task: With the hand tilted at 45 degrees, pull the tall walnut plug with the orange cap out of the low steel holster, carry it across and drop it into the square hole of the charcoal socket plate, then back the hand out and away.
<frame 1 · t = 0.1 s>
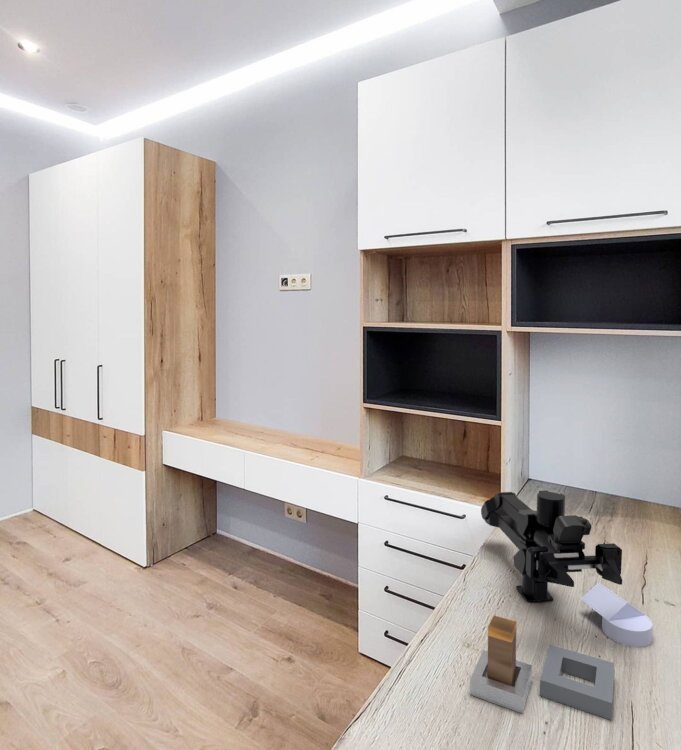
hand: (597, 583, 92), 17 cm above the table, tool horizontal, fingers open, 9 cm apart
wedge on round base: (619, 628, 105), on the table
socket: (577, 686, 88), on the table
holster: (501, 687, 88), on the table
plug: (501, 656, 88), in the holster
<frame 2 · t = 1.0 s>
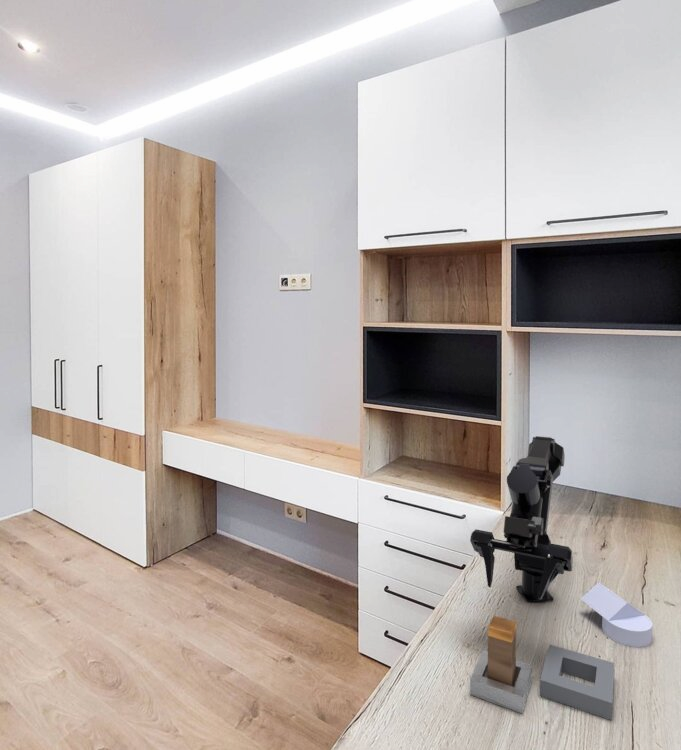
hand: (513, 592, 94), 14 cm above the table, tool tilted 45°, fingers open, 9 cm apart
nothing on the table moved.
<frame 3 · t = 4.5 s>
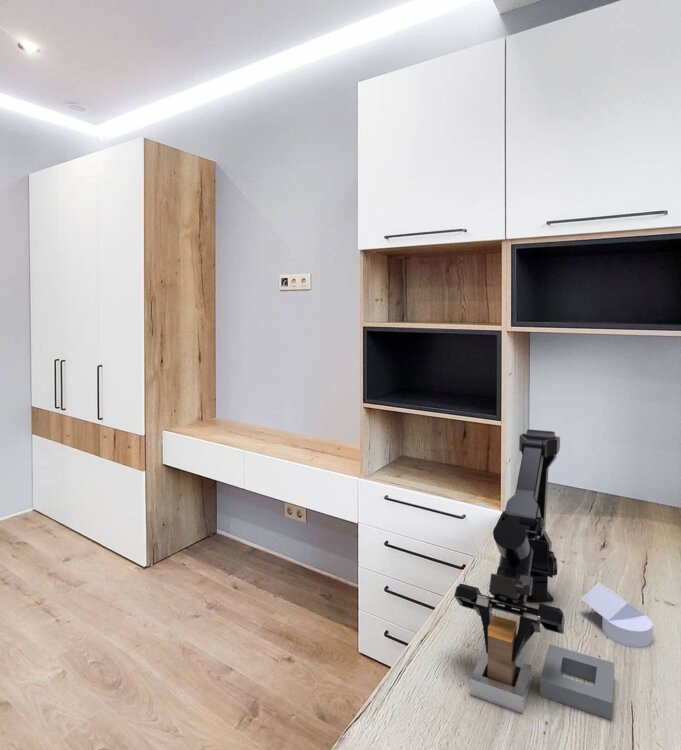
hand: (500, 657, 87), 7 cm above the table, tool tilted 45°, fingers closed on plug, 4 cm apart
plug: (501, 656, 88), in the holster, touching gripper
everything else where it was.
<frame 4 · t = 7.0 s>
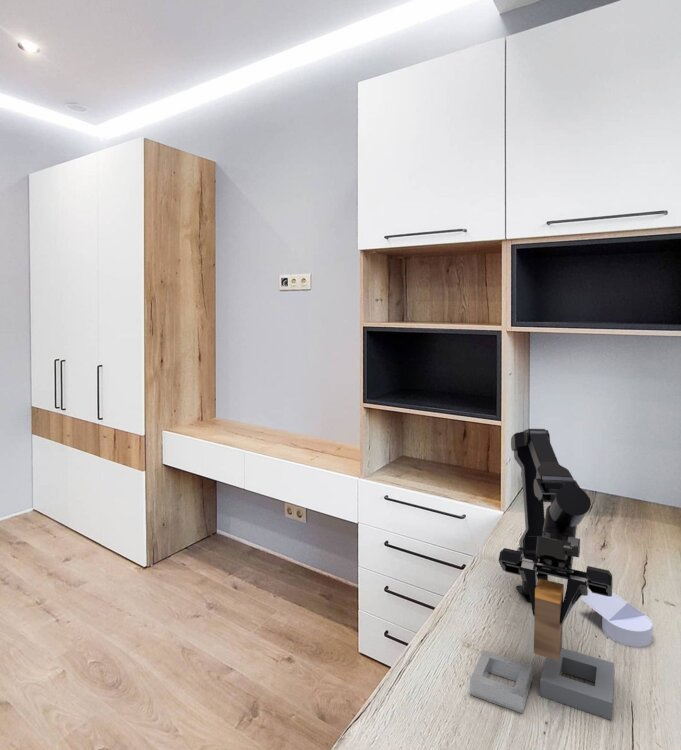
hand: (547, 619, 86), 13 cm above the table, tool tilted 45°, fingers closed on plug, 4 cm apart
plug: (548, 618, 87), point 13 cm above the table, touching gripper
everything else where it was.
when the fingers open (8 cm above the table, at t = 9.6 s): plug stays where it is, resting in socket.
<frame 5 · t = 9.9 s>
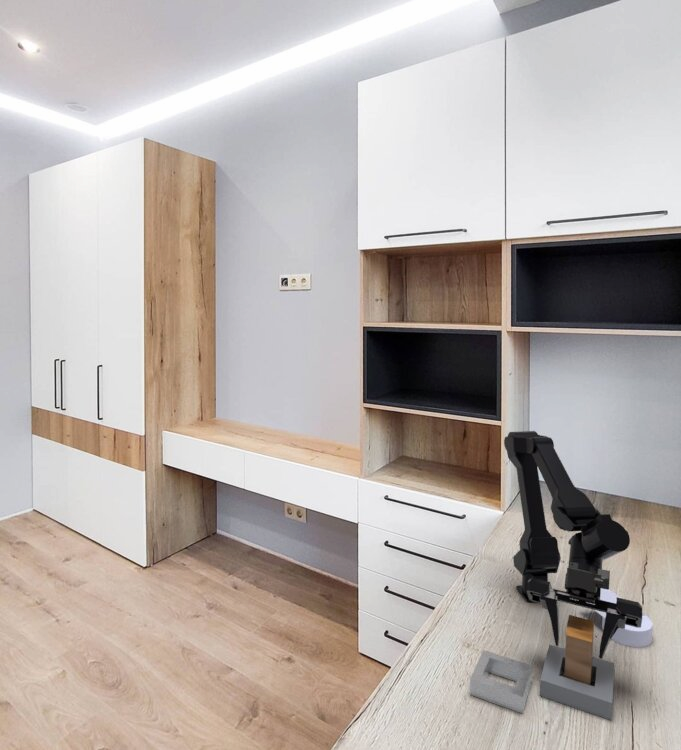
hand: (578, 651, 86), 8 cm above the table, tool tilted 45°, fingers open, 7 cm apart
plug: (579, 655, 88), in the socket
everything else where it was.
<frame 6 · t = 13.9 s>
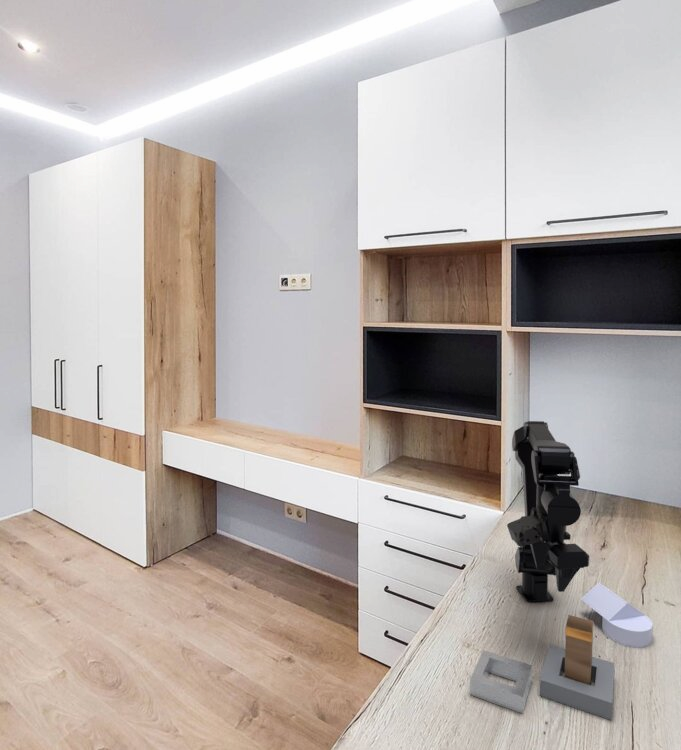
hand: (549, 579, 102), 12 cm above the table, tool pointing down, fingers open, 9 cm apart
nothing on the table moved.
at the end: plug 0.1 cm off-centre on the socket, point 6.0 cm above the socket's base; plug tilted 0°; the gripper is holding nothing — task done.
